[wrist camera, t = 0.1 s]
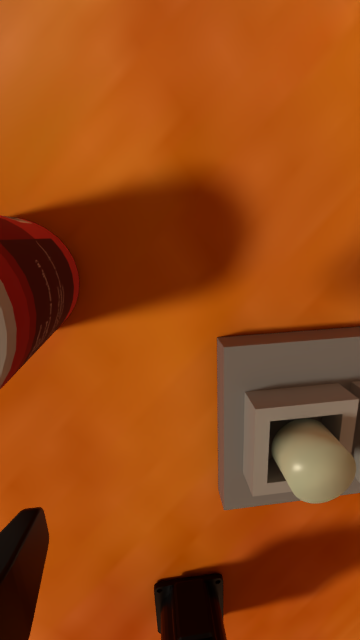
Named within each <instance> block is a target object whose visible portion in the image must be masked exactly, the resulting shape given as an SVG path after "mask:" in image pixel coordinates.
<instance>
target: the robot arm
mask: <svg viewBox="0 0 360 640" xmlns="http://www.w3.org/2000/svg"><path fill="white" fill-rule="evenodd" d="M48 544H49V532H48V528H47V523H46V519H45V514H44V511H43V509H42V508H41V507H36V508H27V509H24V510H22V511H20V512H19V513H18V514H17V515H16V516H15V518H14V519H13V520H12V521H11V522H10V523H9V524H8V525H7V526H6V527H5V528H4V529H3V530H2V531H1V532H0V640H28V639H29V635H30V631H31V627H32V622H33V618H34V613H35V608H36V603H37V598H38V593H39V589H40V584H41V579H42V574H43V569H44V564H45V559H46V554H47V550H48ZM154 595H155V605H156V616H157V626H158V632H159V633H161V640H227V639H226V634H225V629H224V624H223V578H222V575H221V574H211V575H204V576H197V577H191V578H184V579H177V580H170V581H163V582H158V583H156V584H155V585H154Z"/></svg>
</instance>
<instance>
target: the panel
mask: <svg viewBox="0 0 360 640" xmlns="http://www.w3.org/2000/svg"><path fill="white" fill-rule="evenodd" d="M217 379H218V490H219V494H220V497H221V501H222V505H223V508H224V510H230V509H238V508H245V507H253V506H261V505H269V504H276V503H284V502H292V501H300V499H299V498H297V497H296V496H295V495H294V493H293V492H292V490H291V488H290V487H289V485H288V483H287V481H286V479H285V478H284V476H283V474H282V472H281V471H280V469H279V467H278V465H277V463H276V462H275V460H274V458H273V456H272V452H271V446H272V441H273V439H274V437H275V435H276V434H277V432H278V431H279V430H280V429H281V428H282V427H283V426H285V425H286V424H287V423H289V422H291V421H294V420H297V419H302V418H310V419H315V420H317V421H319V422H321V423H322V424H323V425H324V426H325V427H326V428H327V429H328V430H329V431H330V432H331V433H332V434H333V436H334V437H335V438H336V439H337V440H338V441H339V442H340V443H341V444H342V445H343V446H344V447H345V448H346V450H347V451H348V452H349V453H350V454H351V455H352V456H353V458H354V460H355V463H356V474H355V477H354V479H353V481H352V483H351V485H350V486H349V487H348V488H347V490H346V491H345V492H343V493H342V494H341V495H346V494H354V493H360V327H347V328H334V329H321V330H308V331H295V332H282V333H269V334H256V335H243V336H229V337H217Z"/></svg>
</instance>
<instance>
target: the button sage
mask: <svg viewBox="0 0 360 640" xmlns="http://www.w3.org/2000/svg"><path fill="white" fill-rule="evenodd" d="M271 452H272V456H273V458H274V460H275V462H276V463H277V465H278V467H279V469H280V471H281V472H282V474H283V476H284V478H285V479H286V481H287V483H288V485H289V487H290V488H291V490H292V492H293V493H294V495H295V496H296V497H297V498H299V499H300V500H302V501H304V502H308V503H323V502H327V501H330V500H332V499H334V498H336V497H338V496H339V495H341V494H342V493H343V492H345V491H346V490H347V488H348V487H349V486H350V485H351V483H352V481H353V479H354V477H355V474H356V463H355V460H354V458H353V456H352V455H351V454H350V453H349V452H348V451H347V450H346V448H345V447H344V446H343V445H342V444H341V443H340V442H339V441H338V440H337V439H336V438H335V437H334V436H333V434H332V433H331V432H330V431H329V430H328V429H327V428H326V427H325V426H324V425H323V424H322V423H321V422H319V421H317V420H315V419H310V418H302V419H297V420H294V421H291V422H289V423H287V424H286V425H285V426H283V427H282V428H281V429H280V430H279V431H278V432H277V434H276V435H275V437H274V439H273V441H272V446H271Z"/></svg>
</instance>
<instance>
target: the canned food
mask: <svg viewBox="0 0 360 640" xmlns="http://www.w3.org/2000/svg"><path fill="white" fill-rule="evenodd" d="M78 294H79V276H78V270H77V267H76V264H75V261H74V259H73V257H72V255H71V254H70V252H69V250H68V249H67V247H66V246H65V245H64V244H63V243H62V242H61V240H60V239H59V238H58V237H56V236H55V235H54V234H53V233H51V232H50V231H49V230H47V229H46V228H44V227H42V226H40V225H38V224H36V223H34V222H31V221H28V220H25V219H21V218H14V217H6V216H0V389H1V388H2V387H3V386H4V385H5V384H6V383H7V382H8V381H9V380H10V379H11V377H12V376H13V375H14V374H15V373H16V372H17V371H18V370H19V369H20V368H21V367H22V366H23V365H24V364H25V363H26V362H27V360H28V359H29V358H30V357H31V356H32V355H33V354H34V353H35V352H36V351H37V350H38V349H39V348H40V347H41V346H42V345H43V343H44V342H45V341H46V340H47V339H48V338H49V337H50V336H51V335H52V334H53V333H54V332H55V331H56V330H57V329H58V328H59V327H60V325H61V324H62V323H63V322H64V321H65V320H66V319H67V318H68V317H69V315H70V314H71V312H72V310H73V308H74V307H75V304H76V301H77V298H78Z"/></svg>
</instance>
